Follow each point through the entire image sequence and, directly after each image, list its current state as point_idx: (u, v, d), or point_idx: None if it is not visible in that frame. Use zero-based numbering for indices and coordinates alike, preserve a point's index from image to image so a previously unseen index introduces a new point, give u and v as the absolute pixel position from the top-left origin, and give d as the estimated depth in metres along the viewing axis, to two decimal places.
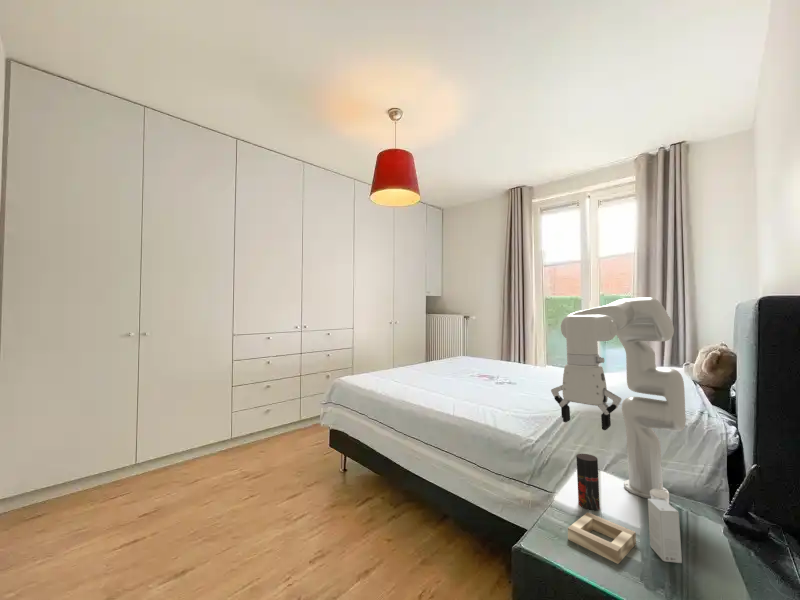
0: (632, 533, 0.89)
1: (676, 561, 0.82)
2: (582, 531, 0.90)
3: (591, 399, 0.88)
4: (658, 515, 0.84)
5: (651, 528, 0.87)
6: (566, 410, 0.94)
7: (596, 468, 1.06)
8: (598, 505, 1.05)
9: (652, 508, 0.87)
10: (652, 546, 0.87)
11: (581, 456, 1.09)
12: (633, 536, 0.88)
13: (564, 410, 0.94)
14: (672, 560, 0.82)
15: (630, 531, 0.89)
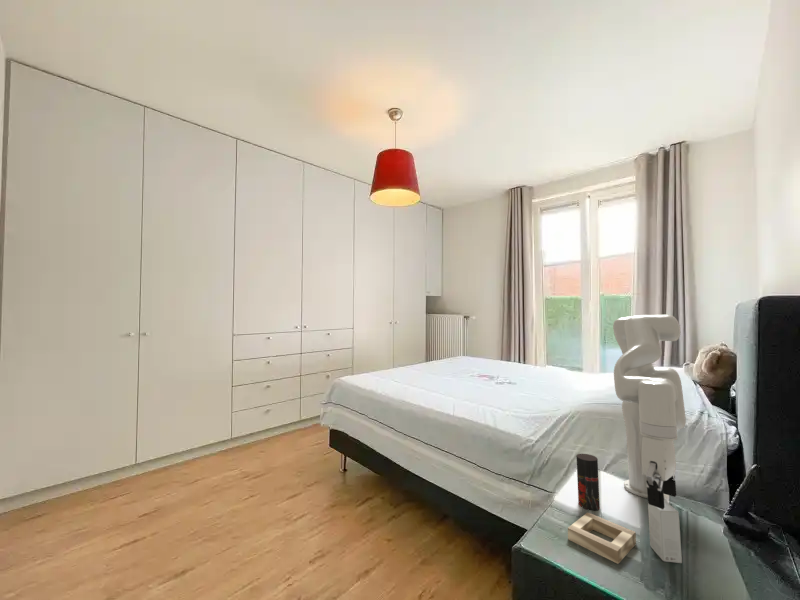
0: (632, 533, 0.89)
1: (676, 561, 0.82)
2: (582, 531, 0.90)
3: (674, 469, 0.86)
4: (658, 515, 0.84)
5: (651, 528, 0.87)
6: None
7: (596, 468, 1.06)
8: (598, 505, 1.05)
9: (651, 508, 0.87)
10: (652, 546, 0.87)
11: (581, 456, 1.09)
12: (633, 536, 0.88)
13: (663, 494, 0.82)
14: (672, 560, 0.82)
15: (630, 531, 0.89)
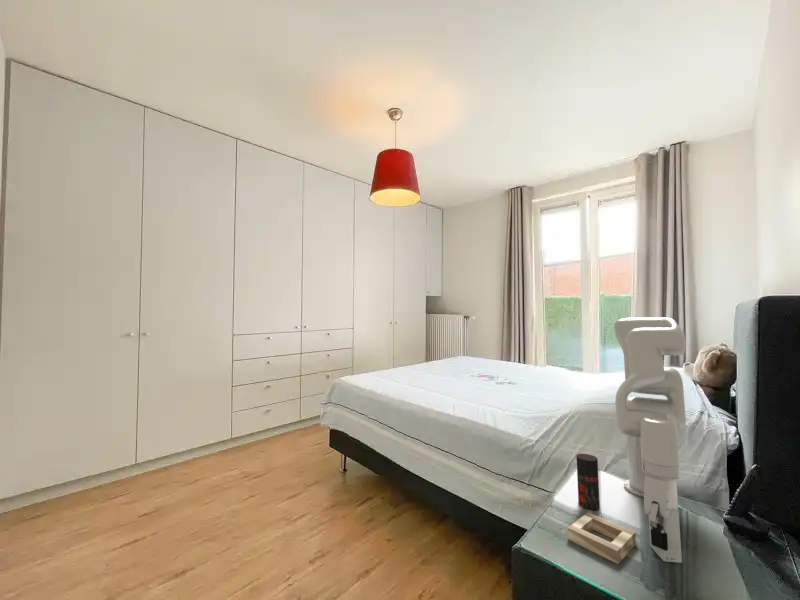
0: (632, 533, 0.89)
1: (676, 561, 0.82)
2: (582, 531, 0.90)
3: (676, 507, 0.86)
4: (658, 515, 0.84)
5: None
6: None
7: (596, 468, 1.06)
8: (598, 505, 1.05)
9: None
10: (652, 546, 0.87)
11: (581, 456, 1.09)
12: (633, 536, 0.88)
13: (666, 536, 0.82)
14: (672, 560, 0.82)
15: (630, 531, 0.89)
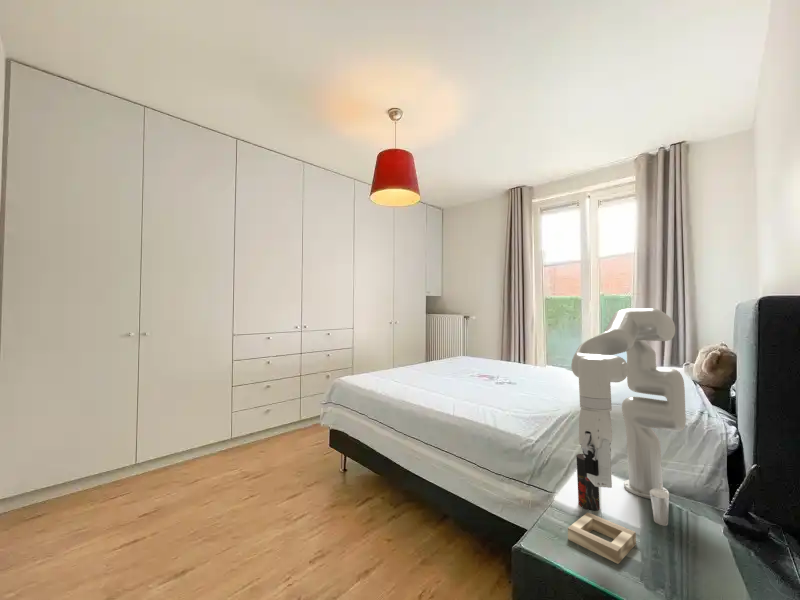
0: (632, 533, 0.89)
1: (607, 486, 0.88)
2: (582, 531, 0.90)
3: (609, 439, 0.92)
4: (591, 445, 0.90)
5: None
6: None
7: None
8: (598, 505, 1.05)
9: None
10: (588, 476, 0.93)
11: (581, 456, 1.09)
12: (633, 536, 0.88)
13: None
14: (603, 485, 0.88)
15: (630, 531, 0.89)
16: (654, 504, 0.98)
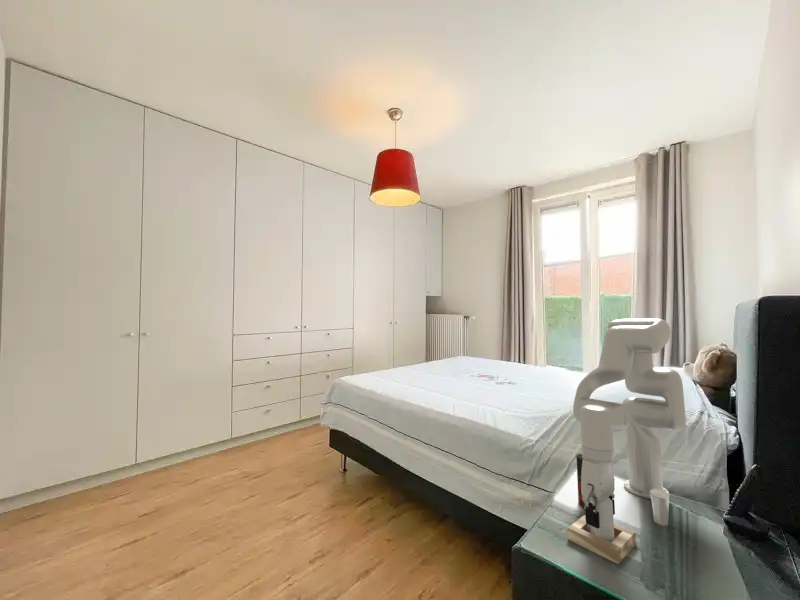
0: (632, 533, 0.89)
1: None
2: (582, 531, 0.90)
3: (612, 490, 0.91)
4: None
5: None
6: None
7: None
8: None
9: None
10: None
11: (581, 456, 1.09)
12: (633, 536, 0.88)
13: (598, 515, 0.87)
14: None
15: (630, 531, 0.89)
16: (654, 504, 0.98)
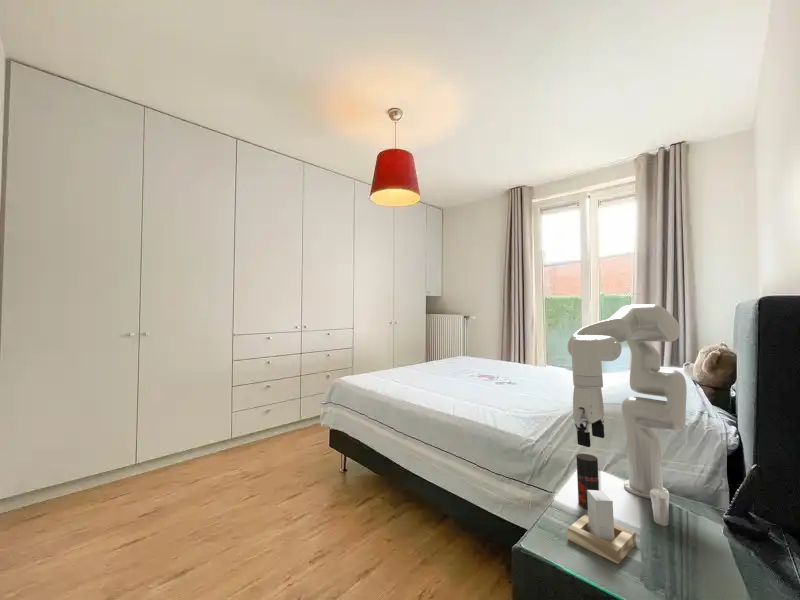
0: (632, 533, 0.89)
1: None
2: (582, 531, 0.90)
3: (601, 414, 0.97)
4: (594, 505, 0.89)
5: (589, 517, 0.92)
6: None
7: (596, 468, 1.06)
8: None
9: (590, 498, 0.92)
10: None
11: (581, 456, 1.09)
12: (633, 536, 0.88)
13: (589, 434, 0.93)
14: None
15: (630, 531, 0.89)
16: (654, 504, 0.98)
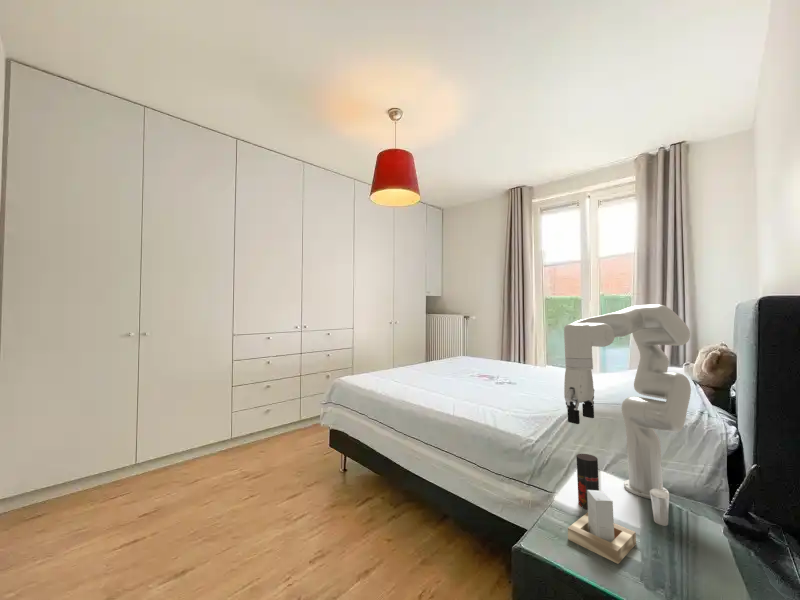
0: (632, 533, 0.89)
1: None
2: (582, 531, 0.90)
3: (591, 395, 1.04)
4: (594, 505, 0.89)
5: (589, 517, 0.92)
6: None
7: (596, 468, 1.06)
8: None
9: (590, 498, 0.92)
10: None
11: (581, 456, 1.09)
12: (633, 536, 0.88)
13: None
14: None
15: (630, 531, 0.89)
16: (654, 504, 0.98)
